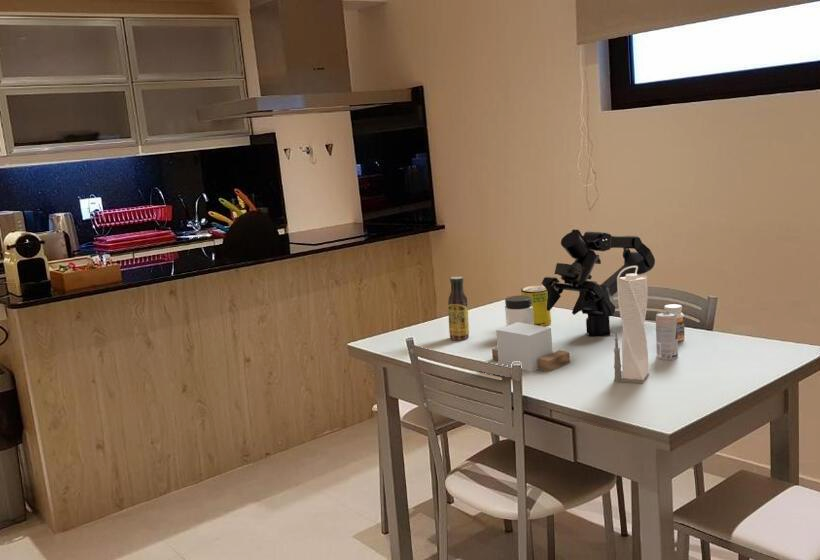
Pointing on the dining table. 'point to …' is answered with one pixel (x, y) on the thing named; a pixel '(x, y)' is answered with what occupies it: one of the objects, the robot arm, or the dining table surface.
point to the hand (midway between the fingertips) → (560, 312)
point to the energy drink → (666, 335)
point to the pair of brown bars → (546, 359)
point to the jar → (519, 310)
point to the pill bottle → (680, 319)
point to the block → (523, 344)
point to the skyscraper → (632, 329)
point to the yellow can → (538, 304)
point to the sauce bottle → (458, 310)
